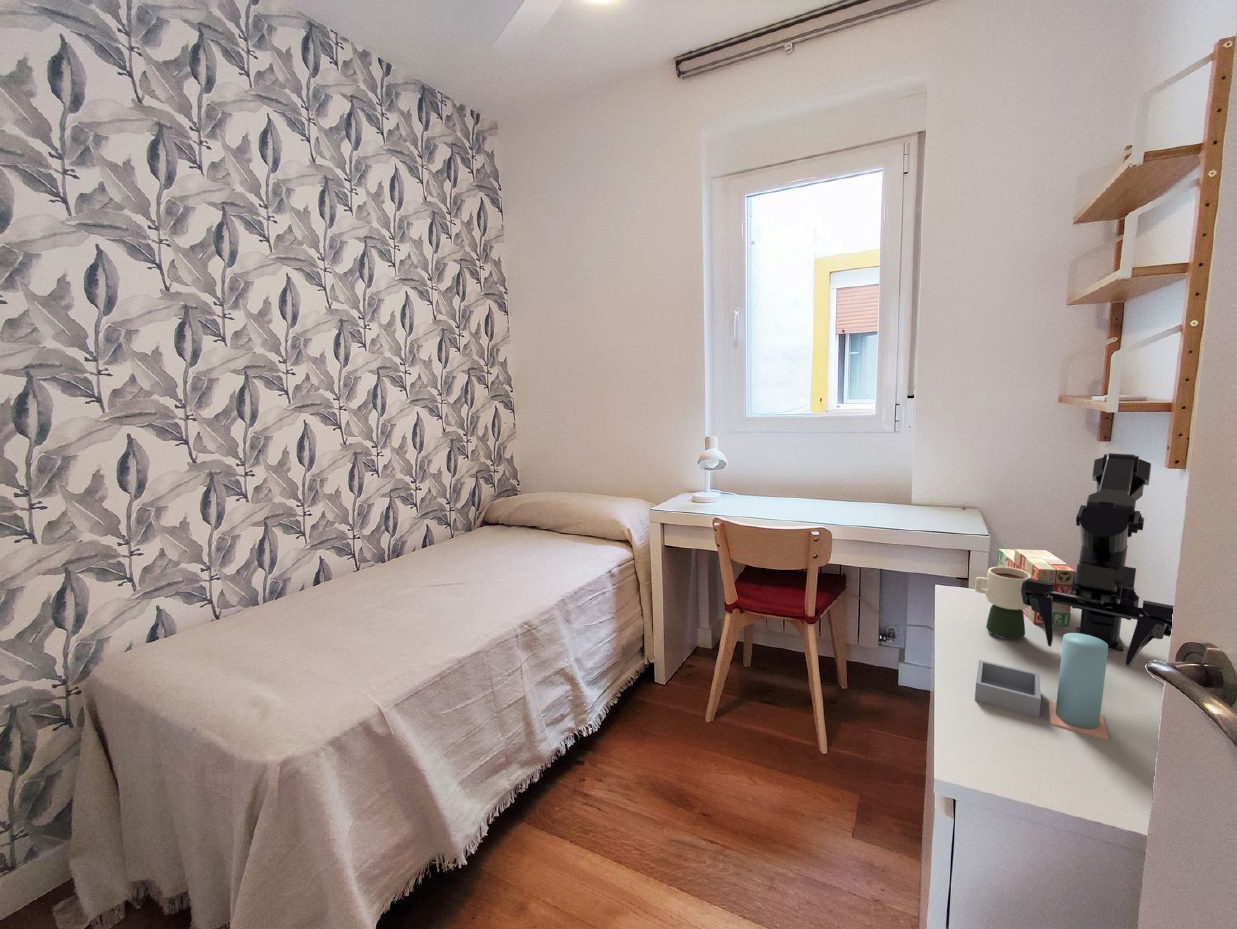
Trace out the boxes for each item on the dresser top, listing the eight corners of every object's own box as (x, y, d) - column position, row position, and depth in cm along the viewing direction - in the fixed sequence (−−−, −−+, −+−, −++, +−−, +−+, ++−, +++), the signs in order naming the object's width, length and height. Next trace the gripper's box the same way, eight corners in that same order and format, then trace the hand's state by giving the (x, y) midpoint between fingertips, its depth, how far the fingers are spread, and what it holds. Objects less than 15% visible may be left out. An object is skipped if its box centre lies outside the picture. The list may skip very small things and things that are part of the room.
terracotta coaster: (1048, 704, 85) (1048, 700, 85) (1102, 718, 82) (1102, 714, 81) (1050, 726, 80) (1050, 722, 80) (1107, 742, 76) (1108, 738, 76)
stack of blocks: (995, 584, 131) (999, 536, 129) (1025, 586, 129) (1030, 537, 127) (1033, 624, 111) (1038, 567, 109) (1070, 627, 109) (1076, 569, 107)
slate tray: (977, 677, 93) (979, 659, 93) (1037, 692, 88) (1039, 673, 88) (974, 702, 87) (975, 682, 86) (1038, 719, 82) (1040, 699, 81)
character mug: (1038, 633, 107) (1043, 571, 105) (1040, 649, 101) (1046, 583, 99) (972, 621, 113) (976, 562, 111) (971, 635, 108) (975, 573, 105)
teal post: (1050, 705, 84) (1057, 630, 82) (1090, 711, 82) (1099, 635, 80) (1062, 725, 79) (1071, 646, 77) (1105, 732, 78) (1115, 651, 76)
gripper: (1027, 532, 91) (1008, 616, 85) (1187, 555, 78) (1177, 656, 72) (1032, 563, 98) (1015, 643, 92) (1179, 589, 85) (1170, 684, 79)
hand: (1086, 654), depth 84 cm, fingers open, 9 cm apart
